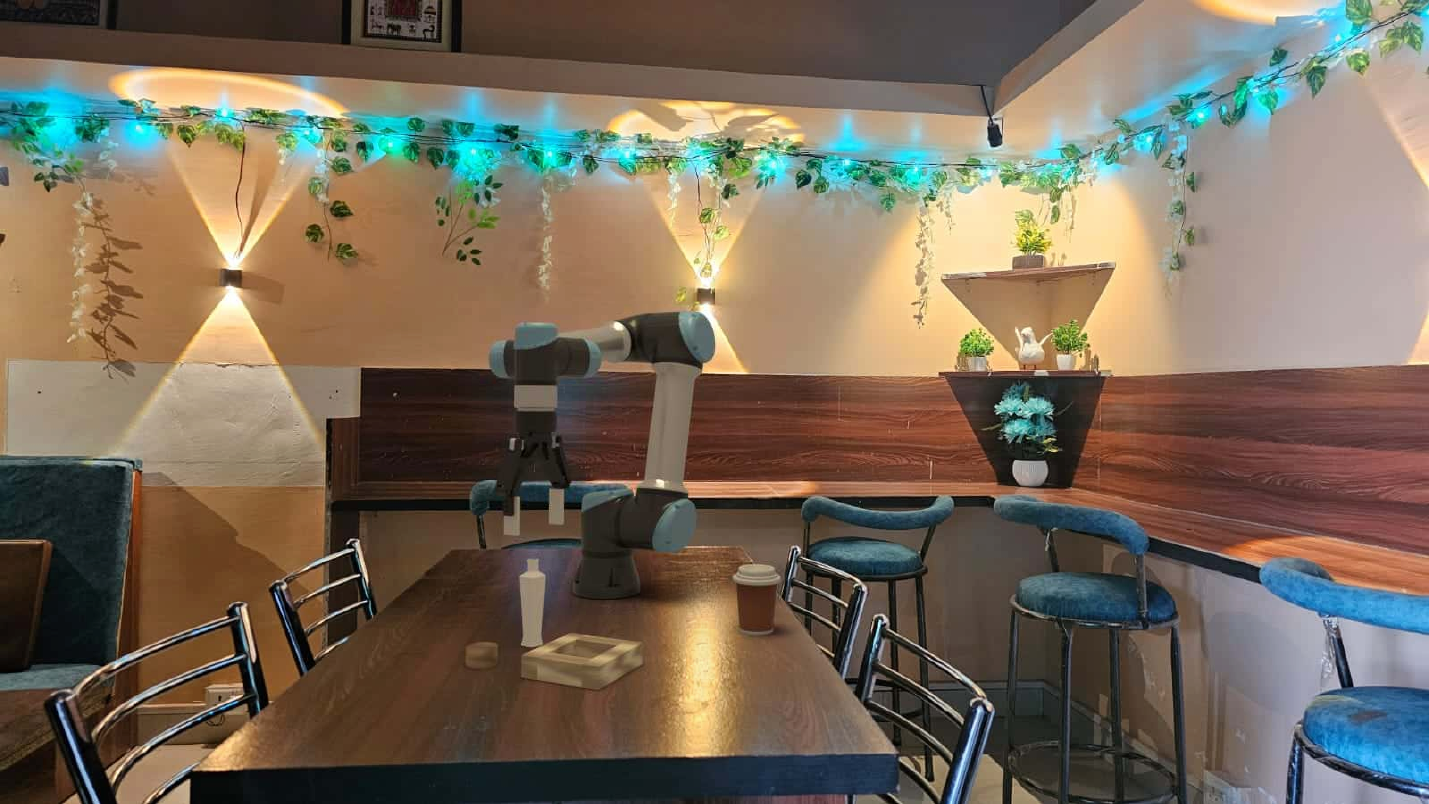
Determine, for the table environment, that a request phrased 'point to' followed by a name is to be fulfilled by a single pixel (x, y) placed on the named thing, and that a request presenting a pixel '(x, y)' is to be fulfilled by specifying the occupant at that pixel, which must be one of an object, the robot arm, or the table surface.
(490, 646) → the brown short cylinder
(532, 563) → the perfume bottle
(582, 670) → the square wooden frame
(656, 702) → the table surface
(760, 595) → the coffee cup
